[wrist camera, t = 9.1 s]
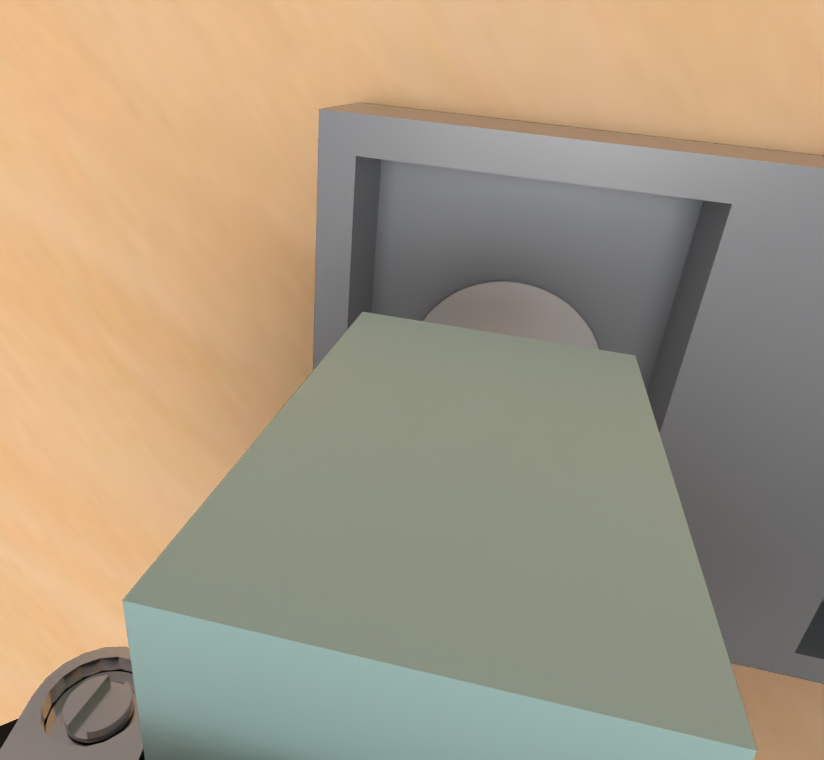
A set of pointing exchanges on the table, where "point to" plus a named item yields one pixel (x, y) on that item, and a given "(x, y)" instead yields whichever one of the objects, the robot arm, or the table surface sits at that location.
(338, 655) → the block with round boss
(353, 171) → the tray
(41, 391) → the table surface
